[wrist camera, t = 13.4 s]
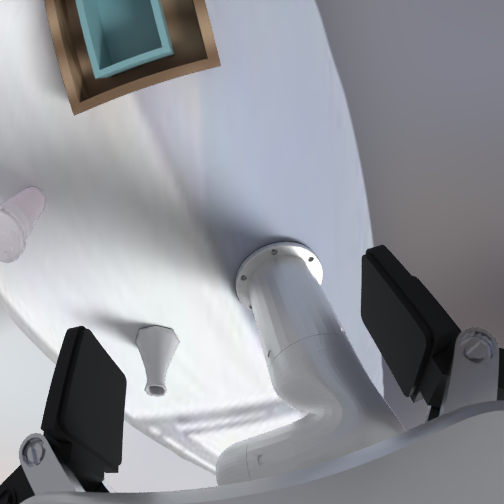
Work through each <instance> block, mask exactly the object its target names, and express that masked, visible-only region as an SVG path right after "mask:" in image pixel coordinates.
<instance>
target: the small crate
mask: <svg viewBox="0 0 504 504" xmlns="http://www.w3.org/2000/svg"><path fill="white" fill-rule="evenodd" d="M76 5H77V9H78V14H79V18H80V23H81V27H82V31H83V35H84V39H85V43H86V47H87V51H88V54H89V58H90V62H91V65H92V69H93V73H94V76H95V79H97V78H107V77H113V76H116V75H118V74H121V73H123V72H126V71H129V70H131V69H134V68H137V67H140V66H143V65H146V64H149V63H152V62H155V61H158V60H161V59H164V58H167V57H171V56H174V55H175V53H174V49H173V46H172V42H171V38H170V34H169V30H168V26H167V23H166V19H165V15H164V11H163V7H162V3H161V0H76Z"/></svg>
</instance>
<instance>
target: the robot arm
mask: <svg viewBox="0 0 504 504" xmlns="http://www.w3.org/2000/svg"><path fill="white" fill-rule="evenodd" d="M322 278H323V270H322V265H321V263H320V261H319V259H318V258H317V256H316V255H315V253H314V252H313V251H312V250H310V249H309V248H308V247H306V246H304V245H302V244H298V243H294V242H277V243H273V244H269V245H267V246H264V247H262V248H260V249H258V250H257V251H255V252H253V253H252V254H251V255H250V256H249V257H248V258H247V259H246V260H245V261H244V262H243V264H242V265H241V267H240V269H239V270H238V273H237V276H236V291H237V295H238V298H239V300H240V301H241V303H242V304H243V305H244V306H245V307H246V308H247V309H248V310H250V311H252V312H253V313H254V317H255V321H256V325H257V329H258V333H259V337H260V340H261V344H262V348H263V352H264V356H265V360H266V363H267V367H268V371H269V375H270V378H271V382H272V385H273V388H274V390H275V392H276V393H277V395H278V396H279V397H280V398H281V400H282V401H284V402H285V403H286V404H287V405H289V406H290V407H292V408H293V409H295V410H297V411H299V412H301V413H303V414H305V415H307V416H305V417H304V418H302V419H300V420H297V421H295V422H293V423H292V424H289V425H286V426H284V427H281V428H278V429H275V430H272V431H269V432H267V433H264V434H261V435H258V436H254V437H252V438H249V439H246V440H243V441H240V442H238V443H235V444H233V445H231V446H230V447H228V448H227V449H226V450H224V451H223V452H222V454H221V455H220V456H219V458H218V461H217V464H216V478H217V483H218V486H216V487H208V488H200V489H191V490H180V491H168V492H147V493H115V491H114V490H113V489H112V488H111V486H110V485H109V484H108V482H107V481H106V480H105V478H104V472H105V473H118V465H120V464H121V461H122V439H123V422H124V408H125V396H126V385H127V382H126V377H125V375H124V374H123V372H122V371H121V370H120V369H119V367H118V366H117V365H116V364H115V362H114V361H113V360H112V359H111V357H110V356H109V355H108V353H107V352H106V351H105V350H104V348H103V347H102V346H101V344H100V343H99V342H98V340H97V339H96V338H95V336H94V335H93V333H92V332H91V331H90V330H89V329H86V328H85V327H84V326H79V327H74V328H70V329H68V330H67V332H66V334H65V337H64V341H63V344H62V347H61V350H60V354H59V357H58V360H57V364H56V368H55V371H54V375H53V378H52V382H51V386H50V390H49V394H48V398H47V402H46V406H45V411H44V415H43V420H42V425H41V429H42V430H43V431H44V434H43V435H41V434H38V433H35V434H31V435H29V436H28V437H27V438H26V439H25V440H24V441H23V443H22V445H21V447H20V451H19V459H20V463H21V465H20V466H19V467H18V468H17V469H16V470H15V471H14V472H13V473H12V474H11V475H10V476H9V477H8V478H7V479H6V480H5V481H4V482H3V483H2V484H1V485H0V504H504V349H502V348H499V345H498V342H497V340H496V338H495V337H494V336H493V335H492V334H491V333H490V332H489V331H487V330H485V329H482V328H479V327H471V328H468V329H465V330H464V331H461V330H460V329H459V327H458V326H457V325H456V324H455V322H453V320H452V319H451V317H450V316H449V315H448V314H447V312H446V311H445V310H444V309H443V307H442V306H441V305H440V304H439V303H438V301H437V300H436V299H435V298H434V297H433V295H432V294H431V293H430V292H429V291H428V290H427V288H426V287H425V286H424V285H423V284H422V283H421V282H420V280H419V279H417V277H415V276H411V274H410V273H409V272H408V271H407V270H406V269H405V268H404V266H402V264H401V263H400V262H399V261H398V260H397V259H396V257H395V256H394V255H393V254H392V253H391V252H390V251H389V250H388V249H387V248H386V247H385V246H384V245H380V246H377V247H373V248H370V249H367V251H366V255H363V256H362V289H361V317H362V320H363V323H364V324H365V326H366V328H367V330H368V331H369V333H370V335H371V336H372V338H373V340H374V342H375V343H376V345H377V347H378V349H379V350H380V352H381V354H382V356H383V357H384V359H385V361H386V363H387V365H388V366H389V368H390V370H391V371H392V374H393V375H394V377H395V379H396V381H397V383H398V384H399V386H400V388H401V390H402V392H403V394H404V395H405V396H406V397H409V396H410V397H411V399H412V401H413V403H415V402H416V401H419V400H421V399H423V398H424V400H425V401H426V403H427V405H429V408H428V412H427V416H426V419H425V423H424V424H421V425H419V426H417V427H415V428H412V429H410V430H408V431H405V429H404V427H403V426H402V424H401V422H400V421H399V419H398V418H397V416H396V415H395V414H394V412H393V411H392V409H391V408H390V407H389V405H388V404H387V403H386V401H385V400H384V399H383V397H382V396H381V394H380V393H379V392H378V390H377V389H376V387H375V386H374V384H373V383H372V381H371V379H370V378H369V376H368V374H367V373H366V371H365V369H364V367H363V365H362V364H361V362H360V360H359V358H358V356H357V354H356V352H355V350H354V348H353V346H352V344H351V343H350V341H349V339H348V337H347V335H346V333H345V331H344V329H343V327H342V325H341V323H340V321H339V320H338V318H337V316H336V314H335V312H334V310H333V308H332V306H331V304H330V303H329V301H328V299H327V297H326V295H325V293H324V291H323V290H322V288H321V286H320V285H321V282H322Z"/></svg>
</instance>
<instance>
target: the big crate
mask: <svg viewBox="0 0 504 504" xmlns="http://www.w3.org/2000/svg"><path fill="white" fill-rule="evenodd" d="M44 1H45V6H46V11H47V16H48V21H49V26H50V31H51V35H52V39H53V44H54V48H55V52H56V56H57V60H58V63H59V67H60V71H61V74H62V78H63V82H64V85H65V88H66V92H67V95H68V98H69V102H70V105H71V108H72V111H73V114H74V115H77V114H79V113H81V112H84V111H86V110H89V109H91V108H93V107H96V106H98V105H100V104H103V103H105V102H108V101H110V100H113V99H115V98H118V97H120V96H123V95H126V94H128V93H131V92H134V91H137V90H140V89H142V88H145V87H148V86H151V85H154V84H157V83H161V82H164V81H167V80H170V79H173V78H177V77H180V76H184V75H187V74H191V73H195V72H198V71H202V70H206V69H210V68H214V67H218V66H221V64H220V60H219V56H218V52H217V48H216V44H215V40H214V36H213V32H212V28H211V24H210V20H209V16H208V12H207V8H206V4H205V0H161V3H162V7H163V11H164V15H165V19H166V23H167V26H168V30H169V34H170V38H171V42H172V46H173V49H174V53H175V55H174V56H171V57H167V58H164V59H161V60H158V61H155V62H152V63H149V64H146V65H143V66H140V67H137V68H134V69H131V70H129V71H126V72H123V73H121V74H118V75H116V76H113V77H107V78H97V79H95V76H94V73H93V69H92V65H91V62H90V58H89V54H88V51H87V47H86V43H85V39H84V35H83V31H82V27H81V23H80V18H79V14H78V9H77V5H76V0H44Z"/></svg>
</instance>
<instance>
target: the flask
mask: <svg viewBox="0 0 504 504" xmlns="http://www.w3.org/2000/svg"><path fill="white" fill-rule="evenodd" d="M179 342H180V341H179V339H178V337H177V336H176V334H175V332H174V330H172V329H167V328H163V327H159V326H152V327H148V328H143V329H139V332H138V335H137V339H136V343H137V346H138V349H139V352H140V354H141V357H142V360H143V363H144V366H145V369H146V375H147V384H146V387H145V391H146V392H147V394H148V395H152V396H163V395H165V394H166V392H167V388H166V387H165V377H166V373H167V369H168V367H169V364H170V362H171V360H172V358H173V356H174V354H175V351H176V349H177V347H178V344H179Z"/></svg>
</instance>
